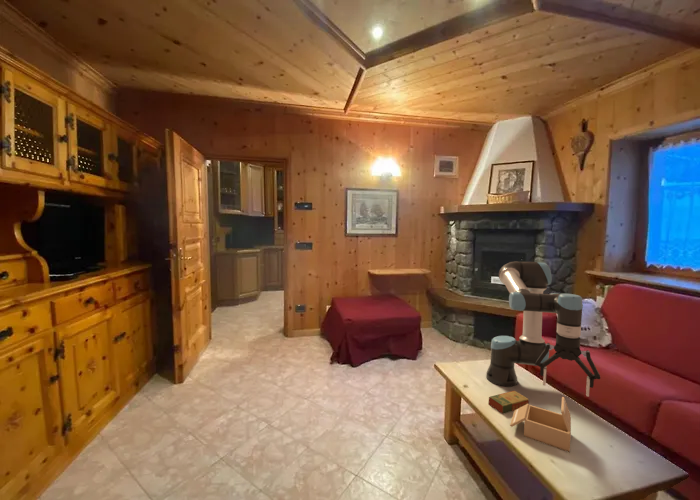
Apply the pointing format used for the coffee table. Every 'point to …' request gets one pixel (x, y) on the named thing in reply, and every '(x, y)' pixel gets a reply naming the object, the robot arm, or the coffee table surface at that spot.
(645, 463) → the coffee table surface
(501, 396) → the carton
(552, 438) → the shipping box
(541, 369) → the robot arm
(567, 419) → the flap
